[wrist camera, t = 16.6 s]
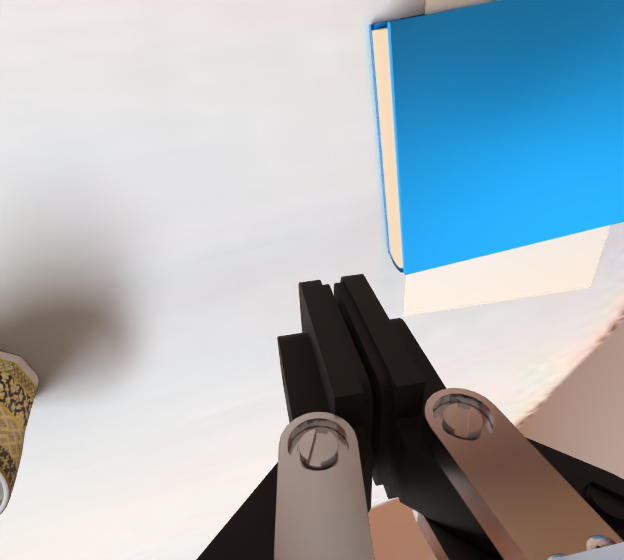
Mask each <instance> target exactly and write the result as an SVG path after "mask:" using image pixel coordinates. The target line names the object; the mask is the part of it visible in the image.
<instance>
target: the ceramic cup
mask: <svg viewBox="0 0 624 560" xmlns="http://www.w3.org/2000/svg"><path fill="white" fill-rule="evenodd" d="M38 378H39V377H38V376H37V374H36V373H35V372H34V371H33V370H32V369H31V367H30V366H29V365H28V364H27V363H26V362H25V360H24V359H23V358H22V357H21V356H18V355H14V354H10V353H6V352H2V351H0V514H1V513H2V512H3V511H4V510H5V508H6V507H7V504H8V502H9V500H10V496H11V493H12V490H13V486H14V483H15V480H16V476H17V472H18V468H19V464H20V460H21V455H22V449H23V442H24V434H25V430H26V426H27V422H28V418H29V415H30V411H31V408H32V404H33V400H34V397H35V394H36V391H37V386H38V383H39V379H38Z"/></svg>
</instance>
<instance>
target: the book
mask: <svg viewBox="0 0 624 560" xmlns="http://www.w3.org/2000/svg"><path fill="white" fill-rule="evenodd" d="M492 1H493V0H492ZM487 2H488V1H487ZM482 3H483V2H482ZM477 4H478V3H477ZM472 5H473V4H472ZM467 6H468V5H467ZM462 7H463V6H462ZM457 8H458V7H457ZM452 9H453V8H452ZM447 10H448V9H447ZM442 11H443V10H442ZM437 12H438V11H437ZM432 13H433V12H432ZM427 14H428V13H427ZM369 29H370V41H371V53H372V65H373V77H374V89H375V100H376V112H377V124H378V136H379V148H380V160H381V171H382V183H383V195H384V207H385V219H386V231H387V242H388V253H389V254H390V256H391V259H392V261H393V263H394V265H395V266H396V268H397V269H398V270H399V271H400V272H404V273H405V275H408V274H412V273H417V272H421V271H425V270H429V269H433V268H437V267H441V266H445V265H449V264H453V263H457V262H461V261H466V260H470V259H474V258H478V257H482V256H486V255H490V254H494V253H498V252H502V251H506V250H510V249H515V248H519V247H523V246H527V245H531V244H535V243H539V242H543V241H547V240H551V239H555V238H559V237H564V236H568V235H572V234H576V233H580V232H584V231H588V230H592V229H596V228H600V227H604V226H608V225H613V224H617V223H621V222H624V0H499V1H494V2H489V3H484V4H479V5H474V6H469V7H464V8H459V9H454V10H449V11H444V12H439V13H434V14H429V15H426V14H422V15H417V16H412V17H407V18H402V19H397V20H392V21H387V22H382V23H377V24H372V25H369Z"/></svg>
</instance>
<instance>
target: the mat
mask: <svg viewBox="0 0 624 560" xmlns="http://www.w3.org/2000/svg"><path fill="white" fill-rule="evenodd" d="M487 1H488V2H487ZM494 1H499V0H493V1H492V0H425V14H426V15H429V14H434V13H439V12H444V11H449V10H454V9H459V8H464V7H469V6H474V5H479V4H484V3H489V2H494ZM482 2H483V3H482ZM477 3H478V4H477ZM472 4H473V5H472ZM467 5H468V6H467ZM462 6H463V7H462ZM457 7H458V8H457ZM452 8H453V9H452ZM447 9H448V10H447ZM442 10H443V11H442ZM437 11H438V12H437ZM432 12H433V13H432ZM427 13H428V14H427ZM610 226H611V225H608V226H604V227H600V228H596V229H592V230H588V231H584V232H580V233H576V234H572V235H568V236H564V237H559V238H555V239H551V240H547V241H543V242H539V243H535V244H531V245H527V246H523V247H519V248H515V249H510V250H506V251H502V252H498V253H494V254H490V255H486V256H482V257H478V258H474V259H470V260H466V261H461V262H457V263H453V264H449V265H445V266H441V267H437V268H433V269H429V270H425V271H421V272H417V273H412V274H408V275H406V285H405V299H404V314H403V315H404V316H409V315H416V314H422V313H429V312H435V311H442V310H448V309H455V308H461V307H468V306H474V305H481V304H488V303H494V302H501V301H507V300H514V299H520V298H527V297H533V296H540V295H547V294H553V293H560V292H566V291H573V290H579V289H586V288H590V287H591V284H592V281H593V278H594V275H595V272H596V269H597V266H598V263H599V260H600V257H601V254H602V251H603V248H604V245H605V242H606V239H607V236H608V232H609V229H610Z"/></svg>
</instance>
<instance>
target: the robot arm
mask: <svg viewBox="0 0 624 560" xmlns="http://www.w3.org/2000/svg"><path fill="white" fill-rule="evenodd" d="M299 297H300V310H301V323H302V333H298V334H292V335H285V336H279V337H277V339H278V348H279V356H280V365H281V372H282V379H283V386H284V392H285V398H286V404H287V410H288V416H289V422H290V424H288V425H287V426H286V428H285V430H284V431H283V433H282V434H281V438H280V442H279V453H278V463H277V464H276V465H275V466H274V467H273V469H272V470H271V471H270V472H269V473H268V475H267V476H266V477H265V478H264V479H263V481H262V482H261V483H260V484H259V485H258V487H257V488H256V489H255V490H254V491H253V493H252V494H251V495H250V496H249V497H248V499H247V500H246V501H245V502H244V503H243V505H242V506H241V507H240V508H239V509H238V511H237V512H236V513H235V514H234V515H233V517H232V518H231V519H230V520H229V521H228V523H227V524H226V525H225V526H224V527H223V529H222V530H221V531H220V532H219V533H218V535H217V536H216V537H215V538H214V539H213V541H212V542H211V543H210V544H209V545H208V547H207V548H206V549H205V550H204V551H203V553H202V554H201V555H200V556H199V557H198V559H197V560H375V558H374V551H373V544H372V537H371V530H370V524H369V517H368V512H369V511H370V509H371V491H372V477H373V480H374V483H375V485H376V486H378V485H382V484H383V485H384V488H385V491H386V494H387V497H388V499H392V498H396V497H399V500H400V502H401V503H403V504H405V505H407V506H408V507H410V508H412V509H413V514H414V517H415V520H416V522H417V524H418V526H419V528H420V530H421V531H422V533H423V535H424V537H425V539H426V540H427V542H428V544H429V546H430V548H431V549H432V551H433V553H434V555H435V557H436V558H437V560H624V479H622V478H620V477H618V476H616V475H614V474H612V473H610V472H607V471H605V470H603V469H600V468H598V467H595V466H593V465H590V464H588V463H586V462H583V461H581V460H579V459H576V458H573V457H571V456H569V455H567V454H564V453H562V452H559V451H557V450H555V449H552V448H550V447H547V446H545V445H543V444H540V443H538V442H535V441H533V440H530V439H528V438H526V437H524V436H523V434H522V433H521V432H520V431H519V430H518V429H517V428H516V427H515V426H514V425H513V424H512V423H511V422H510V421H509V420H508V419H507V418H506V416H505V415H504V414H503V413H502V412H501V411H500V410H499V409H498V408H497V407H496V406H495V405H494V404H493V403H492V402H490V401H489V400H488V399H487V398H486V397H484V396H482V395H480V394H478V393H476V392H473V391H470V390H466V389H461V388H448V389H446V387H445V386H444V384H443V382H442V381H441V379H440V378H439V376H438V374H437V373H436V371H435V370H434V368H433V366H432V365H431V363H430V362H429V360H428V358H427V357H426V355H425V354H424V352H423V350H422V349H421V347H420V346H419V344H418V342H417V341H416V339H415V338H414V336H413V335H412V333H411V331H410V330H409V328H408V327H407V325H406V323H405V322H404V321H403V320H402V319H401V318H397V319H389V318H388V316H387V314H386V313H385V311H384V309H383V307H382V306H381V304H380V302H379V300H378V299H377V297H376V295H375V294H374V292H373V290H372V288H371V287H370V285H369V283H368V281H367V280H366V278H365V276H364V275H363V274H359V275H351V276H344V277H341V283H335V284H334V295H333V293H332V290H331V288H330V286H329V284H326V285H322V283H321V281H320V280H315V281H307V282H300V283H299Z"/></svg>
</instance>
